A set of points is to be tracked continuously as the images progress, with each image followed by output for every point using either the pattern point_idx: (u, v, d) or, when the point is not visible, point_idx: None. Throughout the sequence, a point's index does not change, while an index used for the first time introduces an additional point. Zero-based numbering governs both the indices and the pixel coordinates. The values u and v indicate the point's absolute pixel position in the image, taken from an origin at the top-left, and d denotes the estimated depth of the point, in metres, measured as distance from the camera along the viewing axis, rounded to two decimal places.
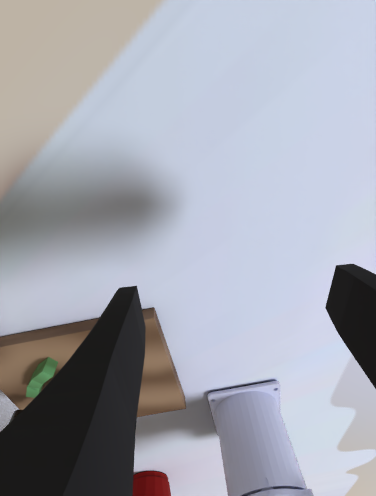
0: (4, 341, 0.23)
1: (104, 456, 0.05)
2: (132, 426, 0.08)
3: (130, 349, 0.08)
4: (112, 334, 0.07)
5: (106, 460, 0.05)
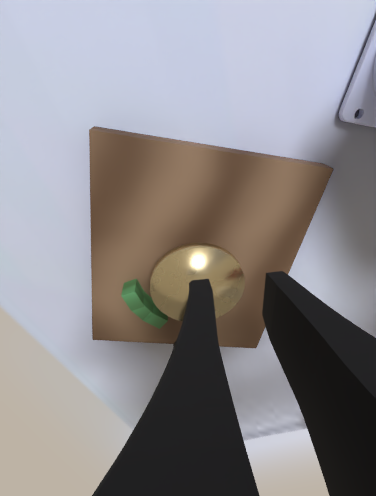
0: None
1: None
2: None
3: None
4: (209, 324, 0.07)
5: None
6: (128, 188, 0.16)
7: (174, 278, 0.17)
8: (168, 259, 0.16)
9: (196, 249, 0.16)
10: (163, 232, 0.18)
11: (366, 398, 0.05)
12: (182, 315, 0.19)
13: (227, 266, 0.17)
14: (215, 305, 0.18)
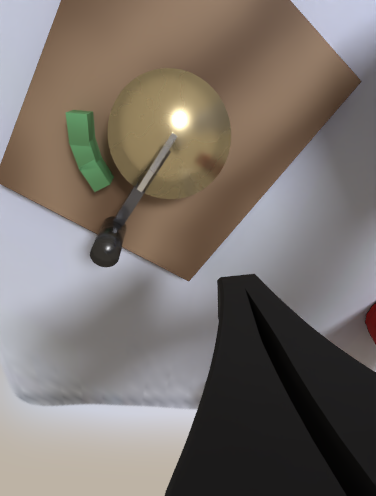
0: None
1: None
2: None
3: None
4: (247, 320, 0.07)
5: None
6: None
7: (149, 108, 0.13)
8: (155, 73, 0.12)
9: (194, 77, 0.12)
10: (155, 58, 0.14)
11: (312, 404, 0.05)
12: (134, 174, 0.14)
13: (217, 125, 0.13)
14: (179, 179, 0.14)
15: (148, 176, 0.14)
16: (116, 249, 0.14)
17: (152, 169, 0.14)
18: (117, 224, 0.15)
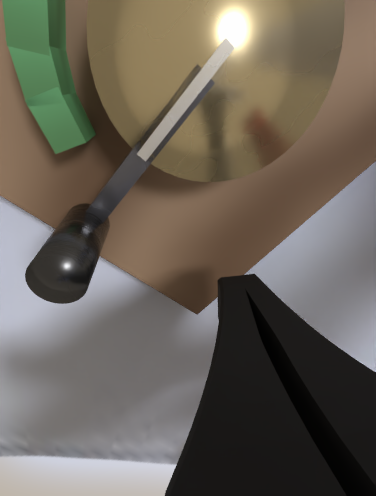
0: None
1: None
2: None
3: None
4: (247, 320, 0.07)
5: None
6: None
7: None
8: None
9: None
10: None
11: (312, 404, 0.05)
12: (136, 123, 0.07)
13: (318, 37, 0.06)
14: (221, 143, 0.08)
15: (162, 130, 0.07)
16: (83, 270, 0.06)
17: (172, 116, 0.07)
18: (93, 218, 0.08)
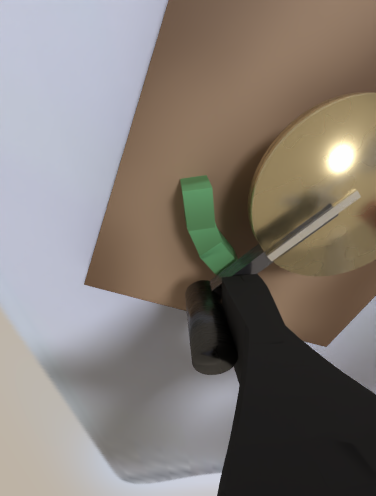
0: None
1: None
2: None
3: None
4: (273, 317, 0.07)
5: None
6: None
7: (341, 149, 0.08)
8: None
9: None
10: (296, 81, 0.09)
11: (281, 407, 0.05)
12: (272, 236, 0.09)
13: None
14: (330, 252, 0.10)
15: (291, 242, 0.09)
16: (236, 354, 0.08)
17: (302, 234, 0.09)
18: (218, 298, 0.10)
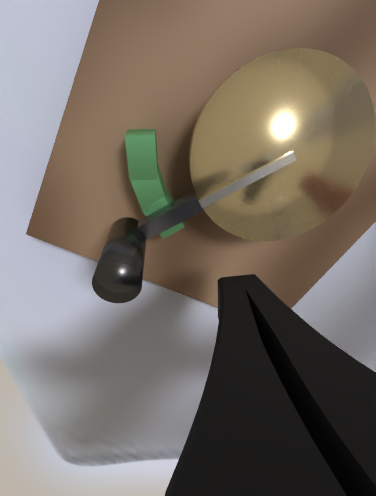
0: None
1: None
2: None
3: None
4: (247, 320, 0.07)
5: None
6: None
7: (286, 102, 0.08)
8: (327, 58, 0.08)
9: (366, 96, 0.08)
10: (247, 40, 0.09)
11: (312, 404, 0.05)
12: (207, 180, 0.09)
13: (347, 173, 0.09)
14: (259, 214, 0.10)
15: (224, 192, 0.09)
16: (141, 282, 0.08)
17: (236, 185, 0.09)
18: (142, 235, 0.10)
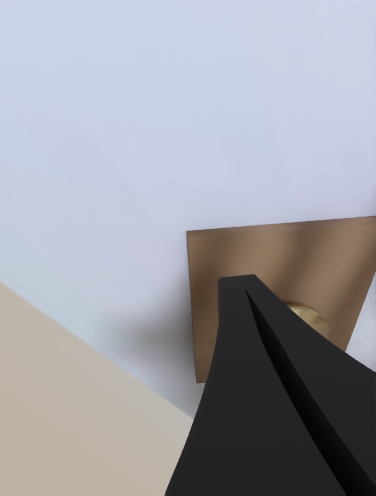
0: None
1: None
2: None
3: None
4: (247, 320, 0.07)
5: None
6: (219, 271, 0.20)
7: None
8: None
9: (308, 311, 0.19)
10: None
11: (312, 404, 0.05)
12: None
13: (320, 329, 0.20)
14: None
15: None
16: None
17: None
18: None
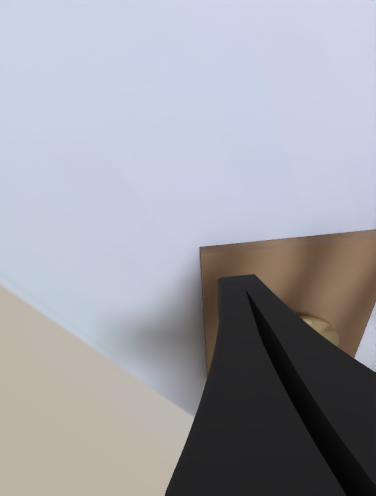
0: (207, 366, 0.26)
1: None
2: None
3: None
4: (247, 320, 0.07)
5: None
6: None
7: None
8: None
9: (319, 323, 0.20)
10: None
11: (312, 404, 0.05)
12: None
13: (330, 339, 0.21)
14: None
15: None
16: None
17: None
18: None
